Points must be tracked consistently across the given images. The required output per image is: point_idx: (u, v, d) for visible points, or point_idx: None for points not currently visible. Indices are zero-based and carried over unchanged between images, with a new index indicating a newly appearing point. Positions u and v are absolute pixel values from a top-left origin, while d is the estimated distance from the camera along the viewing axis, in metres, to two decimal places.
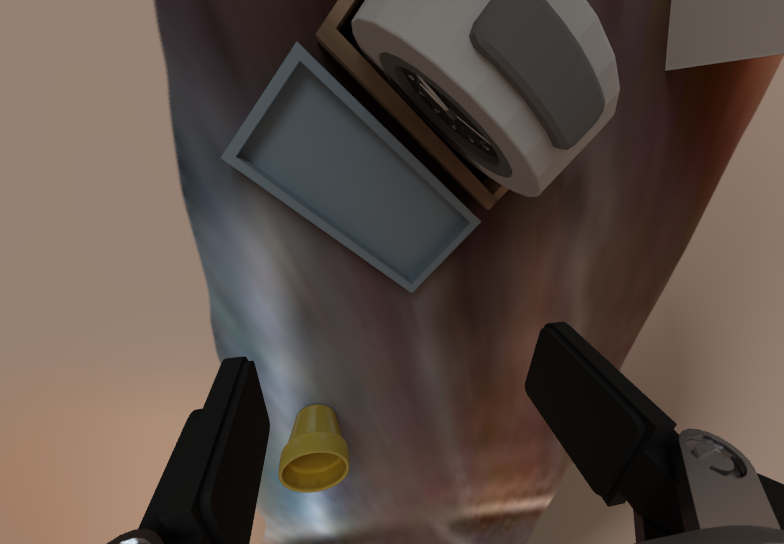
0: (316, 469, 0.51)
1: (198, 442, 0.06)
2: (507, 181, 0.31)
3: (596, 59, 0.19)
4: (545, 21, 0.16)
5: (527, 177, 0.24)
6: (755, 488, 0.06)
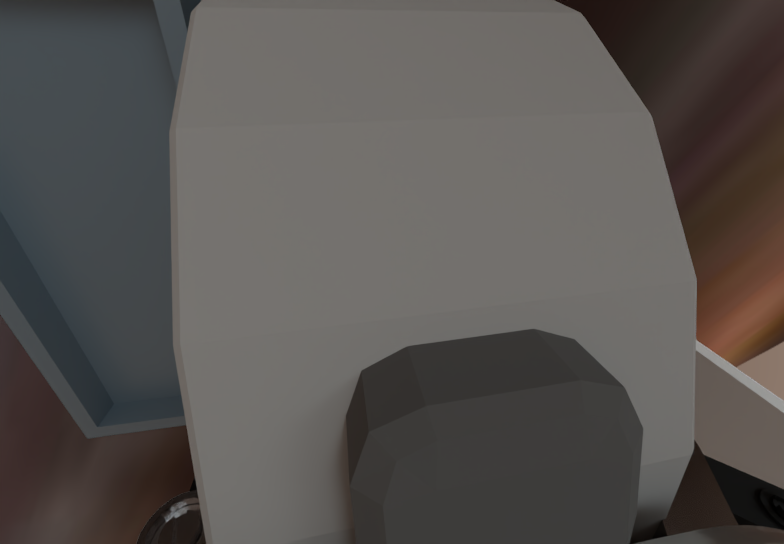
0: None
1: None
2: None
3: None
4: None
5: None
6: (702, 465, 0.07)
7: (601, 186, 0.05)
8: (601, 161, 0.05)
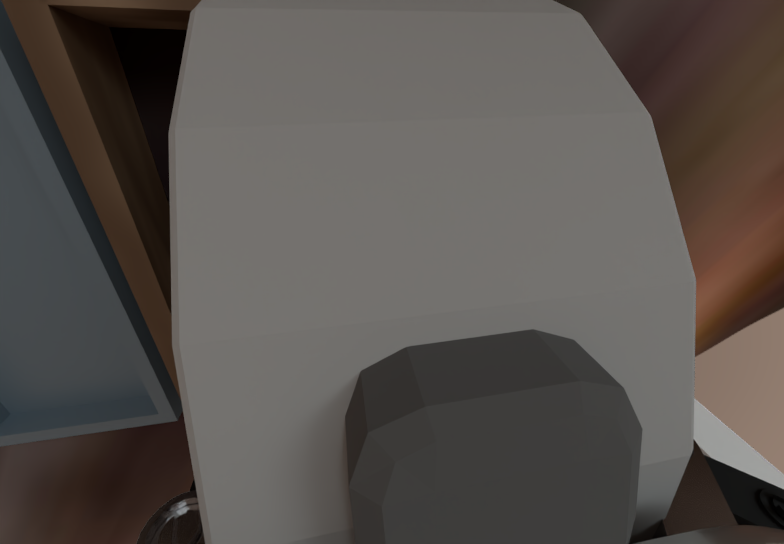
0: None
1: None
2: None
3: None
4: None
5: None
6: (702, 465, 0.07)
7: (600, 187, 0.05)
8: (600, 162, 0.05)
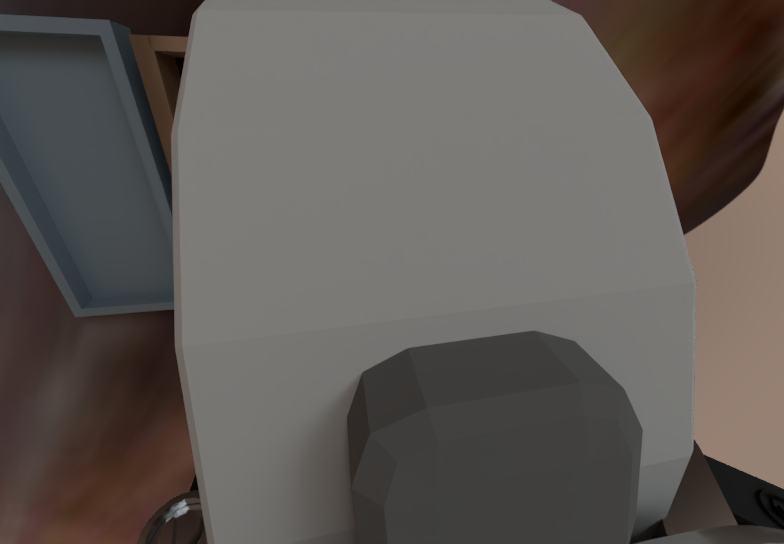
0: None
1: None
2: None
3: None
4: None
5: None
6: (702, 465, 0.07)
7: (601, 188, 0.05)
8: (601, 163, 0.05)
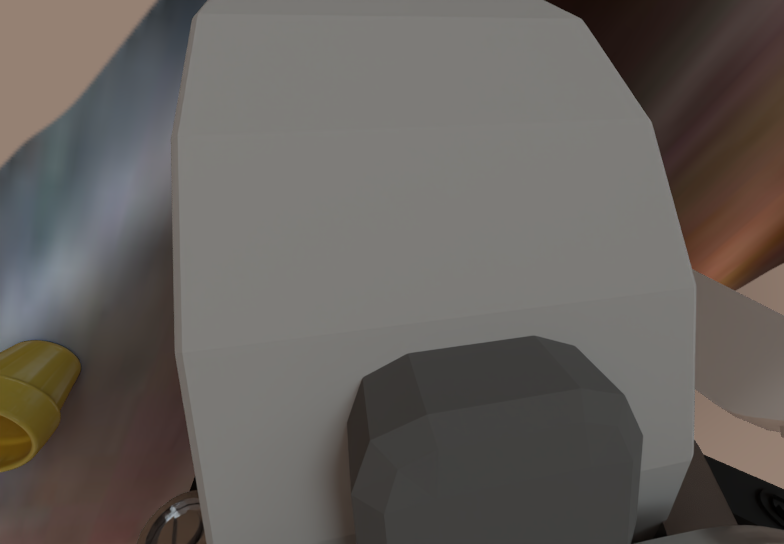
0: None
1: None
2: None
3: None
4: None
5: None
6: (701, 464, 0.07)
7: (601, 193, 0.05)
8: (601, 168, 0.05)
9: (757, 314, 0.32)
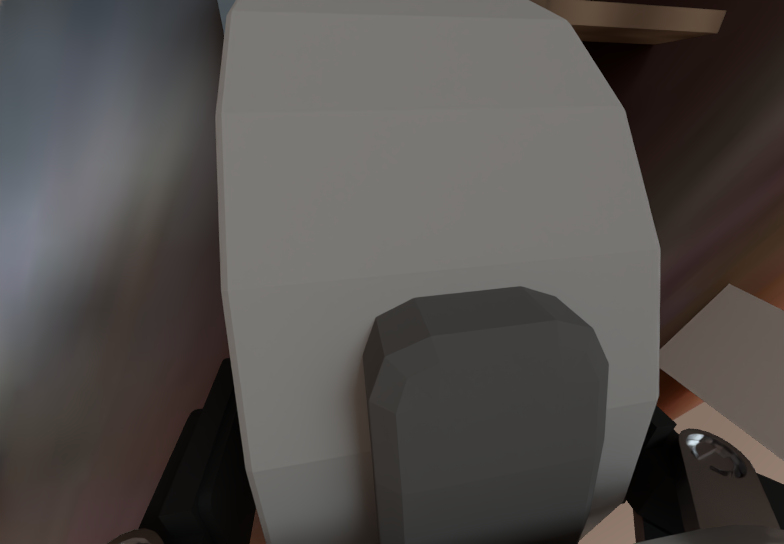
0: None
1: (198, 442, 0.06)
2: None
3: None
4: (565, 495, 0.05)
5: None
6: (755, 487, 0.06)
7: (579, 168, 0.06)
8: (580, 147, 0.06)
9: None
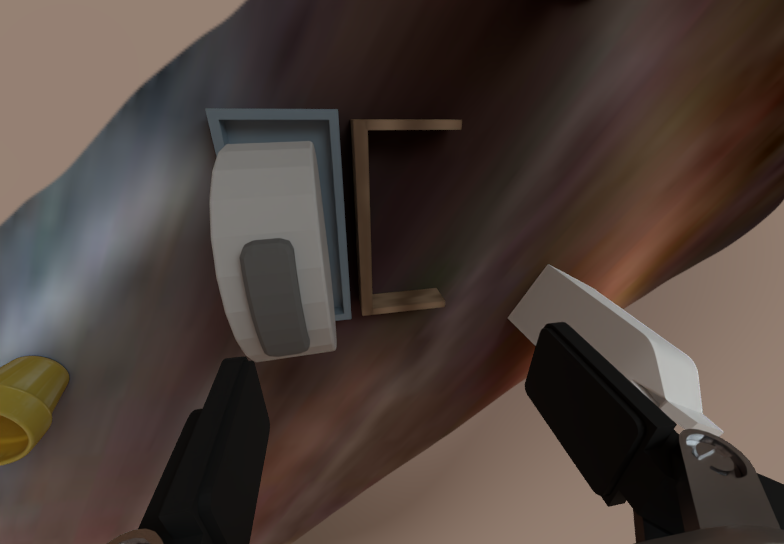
0: None
1: (198, 442, 0.06)
2: None
3: (316, 320, 0.25)
4: (285, 281, 0.22)
5: None
6: (755, 487, 0.06)
7: (298, 210, 0.23)
8: (299, 205, 0.23)
9: (613, 322, 0.40)
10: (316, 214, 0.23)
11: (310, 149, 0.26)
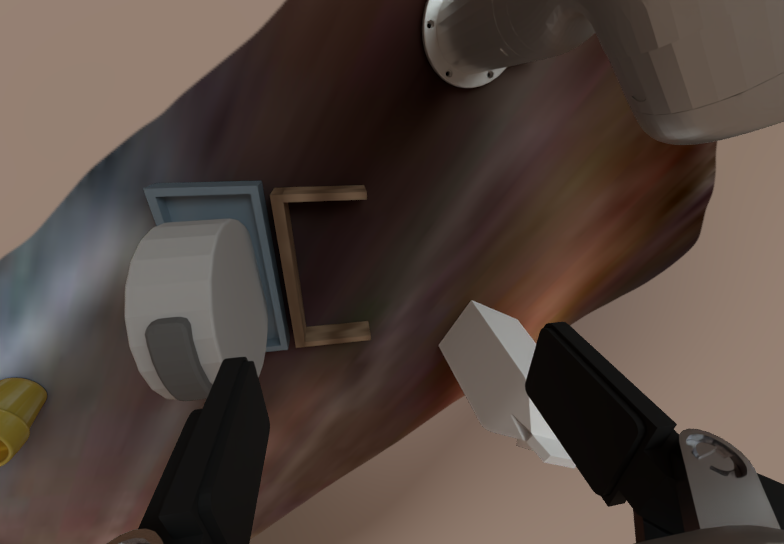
0: None
1: (198, 442, 0.06)
2: None
3: (215, 375, 0.32)
4: (182, 351, 0.29)
5: None
6: (756, 488, 0.06)
7: (195, 294, 0.30)
8: (196, 289, 0.30)
9: (506, 361, 0.47)
10: (210, 296, 0.30)
11: (216, 236, 0.33)
